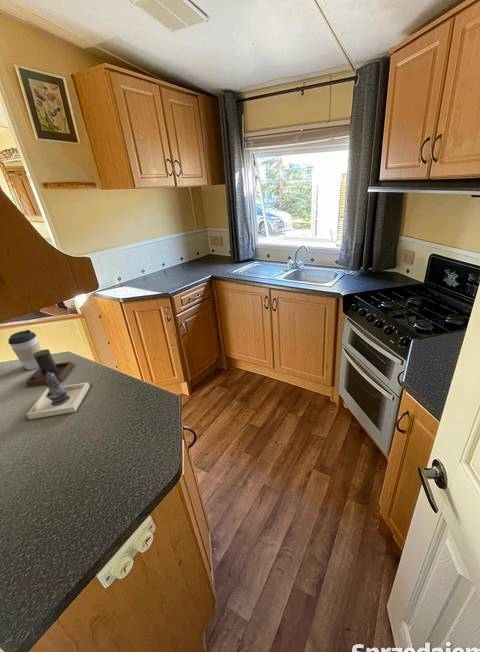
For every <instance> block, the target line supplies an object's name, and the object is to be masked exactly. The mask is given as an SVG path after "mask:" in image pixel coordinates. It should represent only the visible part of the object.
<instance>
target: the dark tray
mask: <svg viewBox="0 0 480 652" xmlns="http://www.w3.org/2000/svg"><path fill="white" fill-rule="evenodd" d="M55 364H56V367H57V369H58V371H59V373H58V374H57V375H56V378H57V380H59V383H62V382H63V381H64V379H65V378H66V377H67V375H68V374H69V373H70V372H71V370H72V368H74V363H73V361H65V362H59V363H55ZM46 384H47V383H46V381H45V378H44V377H43V375H42V372H41V370H40V368H39V367H38V368H37V369H36V370H35V372H33V374H31V376H30V377H29V378H28V379H27V380H26V381H25V385H26V387H27V388H29V387H35V386H44V385H46Z"/></svg>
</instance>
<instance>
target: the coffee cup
mask: <svg viewBox="0 0 480 652" xmlns="http://www.w3.org/2000/svg"><path fill="white" fill-rule="evenodd" d="M7 341H8V344H9V346H10V347H11V350H12V351H13V353H14V354H15V355H16V357H17V358H18V360H19V361H20V362H21V364H22V365H23V367H24V369H25V370H28V371H29V370H35V369H38V368H39V366H38V364H37V362H36V360H35V358H34V356H33V355H34V353H36V352H38V351H40V350H42V349H41V346H40V342H39V340H38V338H37V334H36V333H35V332H33V331H31V330H30V329H27V330H21V331H17V332H15V333H13V334H11V335H10V336H9V338H8V340H7Z"/></svg>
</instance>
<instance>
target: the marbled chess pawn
mask: <svg viewBox="0 0 480 652" xmlns="http://www.w3.org/2000/svg"><path fill="white" fill-rule="evenodd" d="M44 378H45V381H46V383H47V384H45V386H46V387H47V388H49V390H50V392H49V393H48V394H47V398H49V399H50V400H52V405H53V406H59V405H62V404H64V403H66V402H67V401H68V400H69V399H70V397H69V396H67V388H66V387H61V386H62V385H60V382H59V380H57V378H56V376H55V374H54V373H49V372H48V371H47V374H46V375H45V376H44Z"/></svg>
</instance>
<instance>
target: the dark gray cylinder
mask: <svg viewBox="0 0 480 652" xmlns="http://www.w3.org/2000/svg"><path fill="white" fill-rule="evenodd" d="M33 356H34V358H35V360H36V362H37V364H38V366H39V367H38V368H40V370H41V372H42V375H43V377H44V376H45V375H46V374H47V371H48V372H49V373H54V374H55V376H56V375H57V374H58V373H59V371H58V369H57V367H56V364H57V363H56V362H55V359H54V357H53V356H52V353H51V351H50V349H48V348H47V349H41V350H40V351H38V352H36V353H34V355H33Z"/></svg>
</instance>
